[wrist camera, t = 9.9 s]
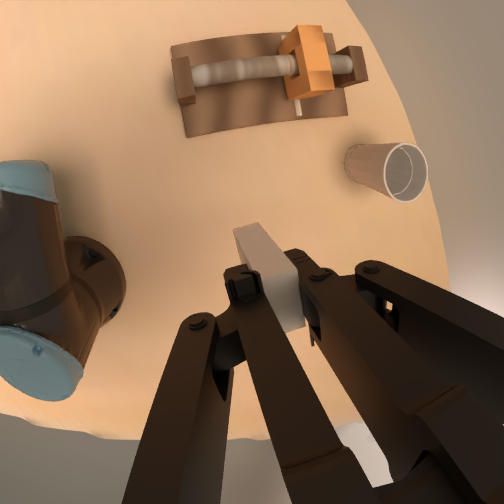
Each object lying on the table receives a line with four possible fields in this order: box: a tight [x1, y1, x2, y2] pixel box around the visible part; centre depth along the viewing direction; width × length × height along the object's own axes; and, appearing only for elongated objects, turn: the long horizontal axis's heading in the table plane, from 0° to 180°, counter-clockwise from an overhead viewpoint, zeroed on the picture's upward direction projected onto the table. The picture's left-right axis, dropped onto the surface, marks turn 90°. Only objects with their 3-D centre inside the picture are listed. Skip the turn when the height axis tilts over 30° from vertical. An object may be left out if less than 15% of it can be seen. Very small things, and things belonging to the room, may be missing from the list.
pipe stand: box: [171, 32, 369, 138], centre depth 32 cm, size 24×14×8 cm, turn 99°
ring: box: [278, 25, 335, 100], centre depth 30 cm, size 3×8×8 cm, turn 9°
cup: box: [344, 143, 428, 203], centre depth 38 cm, size 8×8×12 cm
